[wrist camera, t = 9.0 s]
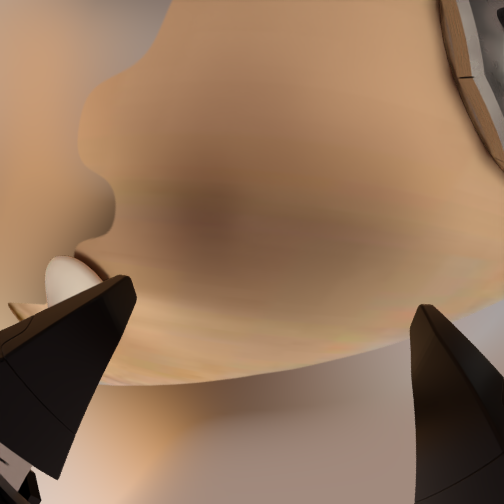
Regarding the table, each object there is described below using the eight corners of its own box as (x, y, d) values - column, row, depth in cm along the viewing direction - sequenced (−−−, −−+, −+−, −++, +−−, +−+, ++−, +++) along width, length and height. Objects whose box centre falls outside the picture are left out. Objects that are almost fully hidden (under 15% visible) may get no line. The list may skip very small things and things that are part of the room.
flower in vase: (128, 338, 32) (32, 496, 12) (64, 302, 33) (-36, 429, 12) (124, 257, 25) (-41, 468, 4) (49, 222, 26) (-102, 366, 5)
